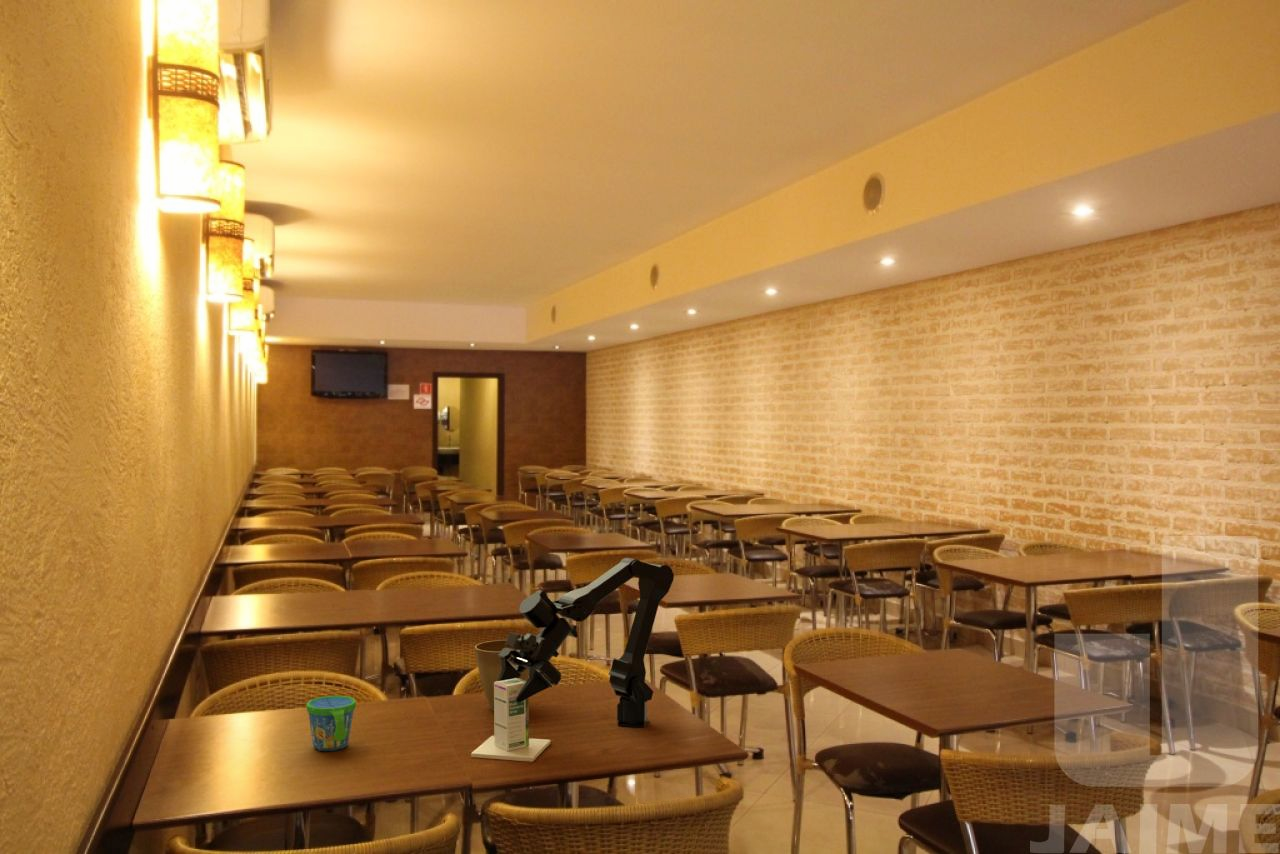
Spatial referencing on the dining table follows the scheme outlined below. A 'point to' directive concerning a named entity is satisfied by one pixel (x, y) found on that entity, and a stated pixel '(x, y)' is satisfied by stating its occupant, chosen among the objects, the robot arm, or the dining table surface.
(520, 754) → the cream mat
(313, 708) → the snack cup
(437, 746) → the dining table surface
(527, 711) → the syrup box
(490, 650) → the plant pot
